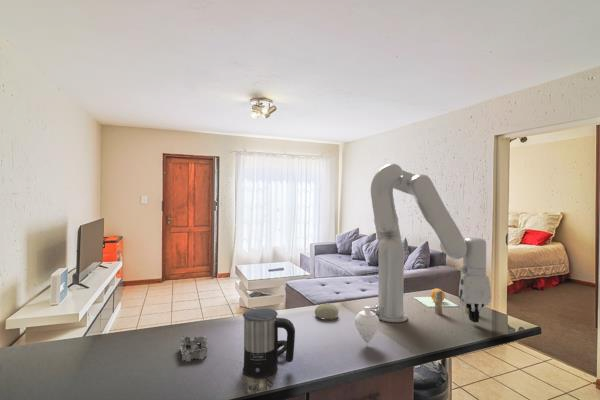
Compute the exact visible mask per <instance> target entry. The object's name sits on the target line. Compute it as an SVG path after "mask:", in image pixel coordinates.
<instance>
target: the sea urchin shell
mask: <svg viewBox="0 0 600 400" xmlns="http://www.w3.org/2000/svg"><path fill="white" fill-rule="evenodd" d="M314 314H315V316H316V317H317V318H318V317H319V318H318V319H320V318H324V319H331V320H334V319H333V318H335V319H337V318H338V316H339V308H338V307H337V306H336V305H335V304H332V303H330V302H329V303H321V304H319V305H317V306H316V307H315V308H314Z"/></svg>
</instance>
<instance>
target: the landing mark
mask: <svg viewBox="0 0 600 400" xmlns="http://www.w3.org/2000/svg"><path fill="white" fill-rule="evenodd" d="M413 299H415V300H417V301H418V302H419V303H421V304H423V305H424V306H425V307H427V308H435V301H434V300H433V299H432V298H431V296H413ZM447 307H451V308H452V307H459V305H458V304H455V303H454V302H452V301H450V300H449V299H446V298H444V300H443V301H442V308H447Z"/></svg>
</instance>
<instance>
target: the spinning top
mask: <svg viewBox="0 0 600 400" xmlns="http://www.w3.org/2000/svg"><path fill="white" fill-rule="evenodd" d="M369 306H370V305H368V306H367V305H366V306H364V307H363V309H364V310H361V311H359V312H358V313H357V314H356V316H355V318H354V326H355V328H356V330H357V332H358V334H359V335H360V337H361V338H362V339H363V341H364V342H365V344H366V346H368V343H369V342H370V341H371V340H373V338H374V336H375V335H376V333H377V332H378V330H379V328H380V325H381V324H380V321H381V320H380V319H379V318H378V317H377V315H376V314H375V313H374V312H371V311H370V307H369Z"/></svg>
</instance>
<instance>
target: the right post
mask: <svg viewBox="0 0 600 400" xmlns="http://www.w3.org/2000/svg"><path fill="white" fill-rule="evenodd" d="M464 309H465V311H464V312H465V313H466V314H468V315H469V309H468V308H467V307H466V306H464Z"/></svg>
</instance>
